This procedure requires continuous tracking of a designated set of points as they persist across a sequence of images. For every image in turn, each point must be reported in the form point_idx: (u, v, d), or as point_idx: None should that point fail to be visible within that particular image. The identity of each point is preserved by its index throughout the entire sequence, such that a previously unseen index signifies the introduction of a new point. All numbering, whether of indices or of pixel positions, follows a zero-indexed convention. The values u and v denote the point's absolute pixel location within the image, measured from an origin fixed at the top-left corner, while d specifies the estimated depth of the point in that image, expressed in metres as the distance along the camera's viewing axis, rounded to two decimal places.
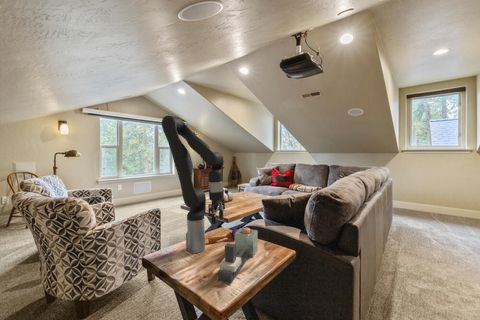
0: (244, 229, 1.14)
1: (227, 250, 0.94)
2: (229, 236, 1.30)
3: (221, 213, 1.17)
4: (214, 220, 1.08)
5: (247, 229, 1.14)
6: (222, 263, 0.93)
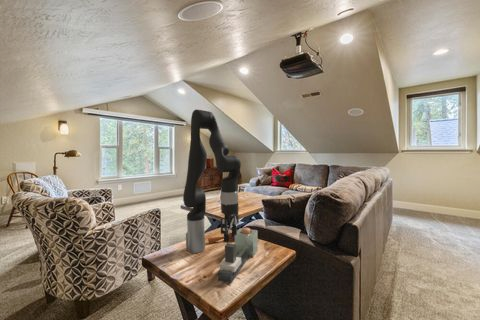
0: (244, 229, 1.14)
1: (227, 250, 0.94)
2: (229, 236, 1.29)
3: (234, 228, 0.98)
4: (227, 238, 0.90)
5: (247, 229, 1.14)
6: (222, 263, 0.93)
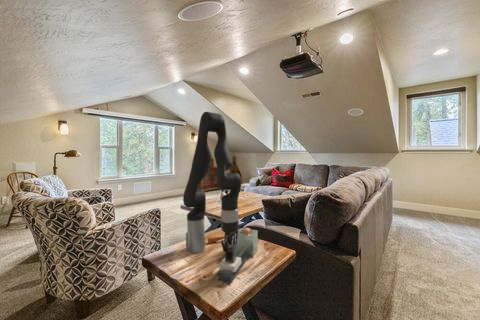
0: (244, 229, 1.14)
1: None
2: None
3: None
4: (229, 256, 0.92)
5: (247, 229, 1.14)
6: (222, 263, 0.93)
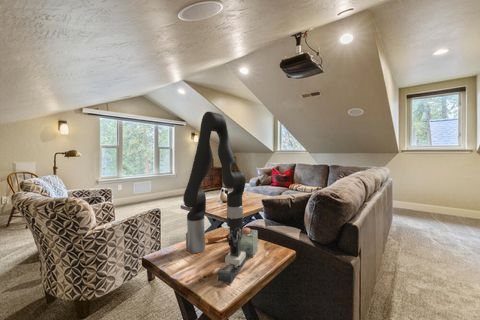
0: (244, 229, 1.14)
1: None
2: None
3: None
4: (234, 250, 0.98)
5: (247, 229, 1.14)
6: (227, 257, 0.98)
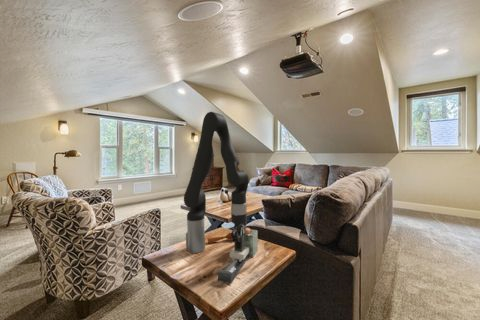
0: None
1: None
2: (228, 236, 1.29)
3: None
4: (239, 245, 1.03)
5: (247, 229, 1.14)
6: (232, 252, 1.03)
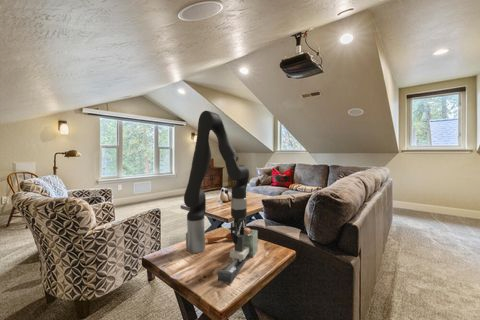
0: (244, 229, 1.14)
1: None
2: (228, 236, 1.29)
3: (242, 231, 1.08)
4: (236, 240, 1.00)
5: (247, 229, 1.14)
6: (232, 252, 1.03)
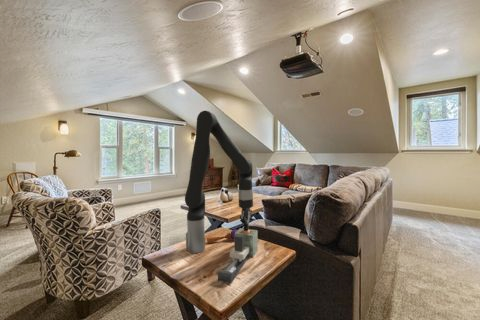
0: (244, 230, 1.14)
1: (237, 240, 1.04)
2: (228, 236, 1.29)
3: None
4: (246, 227, 1.13)
5: None
6: (232, 252, 1.03)
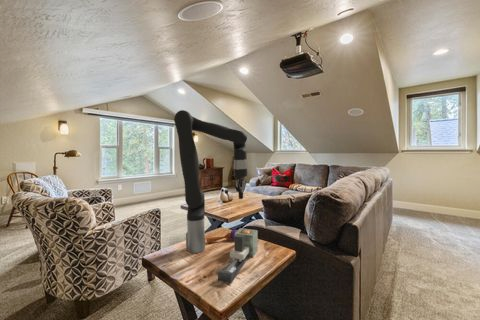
0: (244, 231, 1.14)
1: (237, 240, 1.04)
2: (228, 236, 1.29)
3: None
4: (241, 195, 1.20)
5: (247, 231, 1.14)
6: (232, 252, 1.03)
